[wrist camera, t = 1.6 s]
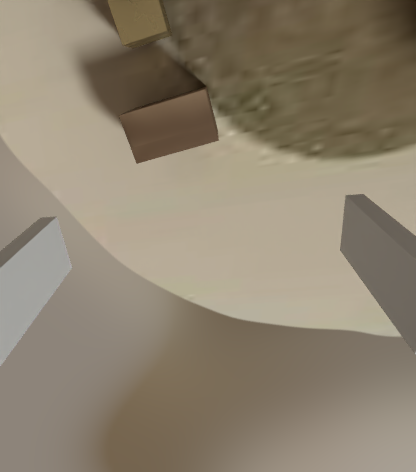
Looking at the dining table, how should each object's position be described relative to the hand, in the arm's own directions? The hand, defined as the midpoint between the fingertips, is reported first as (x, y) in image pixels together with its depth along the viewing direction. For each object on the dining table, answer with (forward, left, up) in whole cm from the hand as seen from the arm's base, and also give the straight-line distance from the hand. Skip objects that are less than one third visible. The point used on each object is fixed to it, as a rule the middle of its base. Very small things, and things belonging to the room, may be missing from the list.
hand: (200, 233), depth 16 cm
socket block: (-1, -4, -20) cm, 20 cm away
